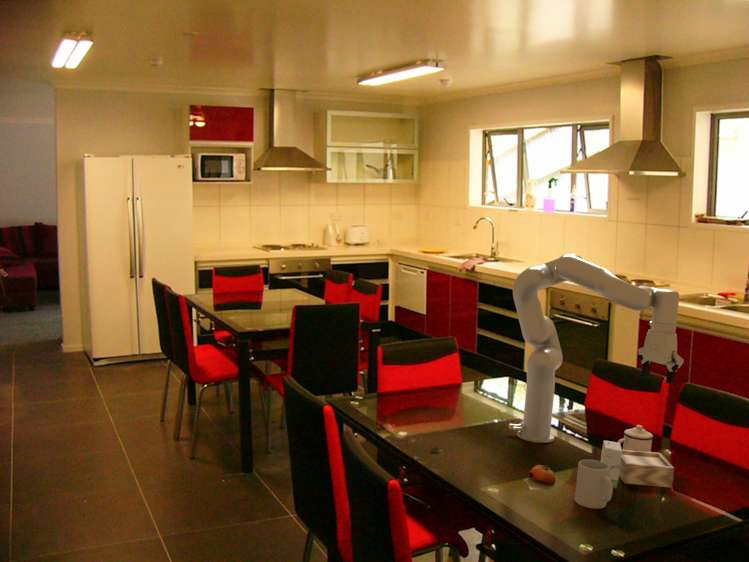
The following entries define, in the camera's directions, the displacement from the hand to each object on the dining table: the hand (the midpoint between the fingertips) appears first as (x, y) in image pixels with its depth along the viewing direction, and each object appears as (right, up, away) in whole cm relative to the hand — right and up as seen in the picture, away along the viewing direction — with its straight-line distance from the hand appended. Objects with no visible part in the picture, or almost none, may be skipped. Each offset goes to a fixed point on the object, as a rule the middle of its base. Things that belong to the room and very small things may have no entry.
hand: (657, 379), depth 262 cm
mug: (-31, -30, -40) cm, 59 cm away
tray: (-10, -28, -14) cm, 33 cm away
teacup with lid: (-8, -27, +2) cm, 28 cm away
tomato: (-42, -27, -23) cm, 56 cm away
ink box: (-22, -28, -21) cm, 42 cm away
